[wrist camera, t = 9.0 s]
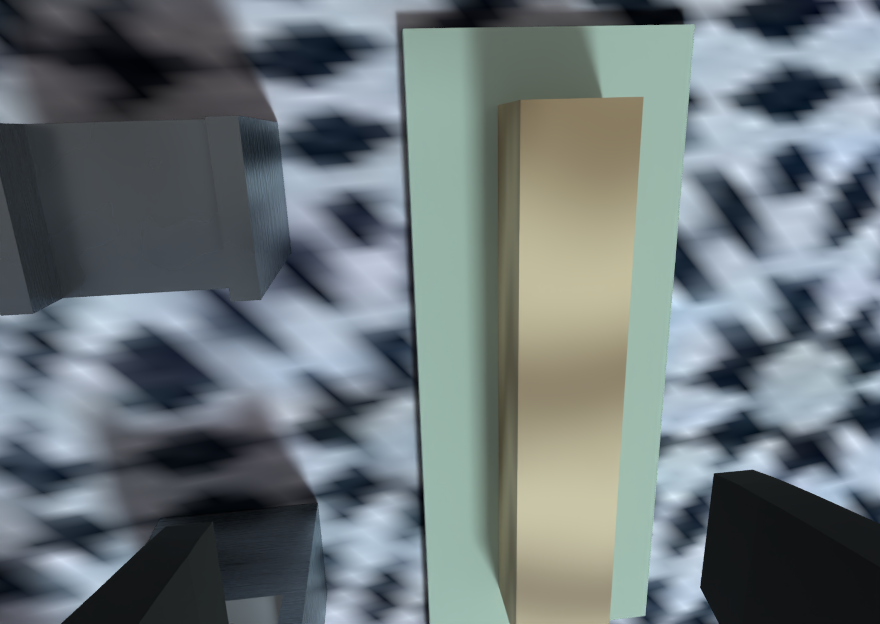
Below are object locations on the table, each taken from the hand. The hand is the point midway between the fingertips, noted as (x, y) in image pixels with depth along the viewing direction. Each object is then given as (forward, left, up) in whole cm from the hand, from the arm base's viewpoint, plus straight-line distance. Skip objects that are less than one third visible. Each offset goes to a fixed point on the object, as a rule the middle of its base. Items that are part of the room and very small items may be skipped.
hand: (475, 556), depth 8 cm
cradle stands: (-1, +6, -10) cm, 12 cm away
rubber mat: (-1, -4, -10) cm, 11 cm away
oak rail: (-1, -4, -10) cm, 11 cm away
